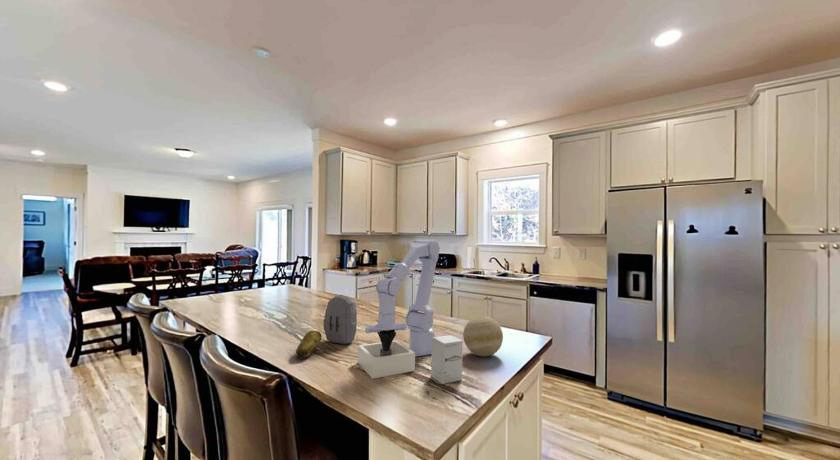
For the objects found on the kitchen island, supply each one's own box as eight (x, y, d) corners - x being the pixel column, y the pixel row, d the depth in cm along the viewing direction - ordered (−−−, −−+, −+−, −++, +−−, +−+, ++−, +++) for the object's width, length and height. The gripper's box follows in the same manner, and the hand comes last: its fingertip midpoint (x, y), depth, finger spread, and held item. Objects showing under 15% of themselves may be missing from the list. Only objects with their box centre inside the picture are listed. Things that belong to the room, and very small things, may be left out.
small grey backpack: (359, 342, 142) (360, 295, 143) (347, 348, 135) (349, 298, 135) (330, 337, 148) (332, 291, 149) (317, 343, 141) (319, 294, 141)
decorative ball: (483, 365, 120) (484, 323, 120) (454, 353, 132) (455, 314, 132) (510, 357, 129) (511, 317, 129) (481, 346, 141) (482, 310, 141)
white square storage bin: (396, 356, 127) (397, 340, 127) (414, 370, 114) (415, 352, 114) (357, 362, 120) (358, 345, 120) (372, 378, 107) (372, 359, 107)
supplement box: (442, 385, 103) (443, 343, 104) (430, 375, 110) (431, 336, 110) (462, 380, 107) (463, 340, 107) (449, 372, 113) (450, 334, 114)
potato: (286, 358, 123) (286, 335, 123) (311, 347, 135) (312, 327, 135) (303, 362, 119) (304, 339, 120) (328, 351, 131) (328, 330, 131)
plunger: (394, 356, 125) (394, 342, 125) (407, 367, 115) (407, 352, 115) (364, 361, 119) (365, 347, 119) (375, 372, 109) (376, 357, 109)
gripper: (401, 309, 124) (399, 346, 124) (363, 311, 118) (361, 351, 117) (409, 313, 118) (408, 352, 118) (370, 315, 111) (368, 357, 111)
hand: (385, 352), depth 117 cm, fingers closed, pressing on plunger
